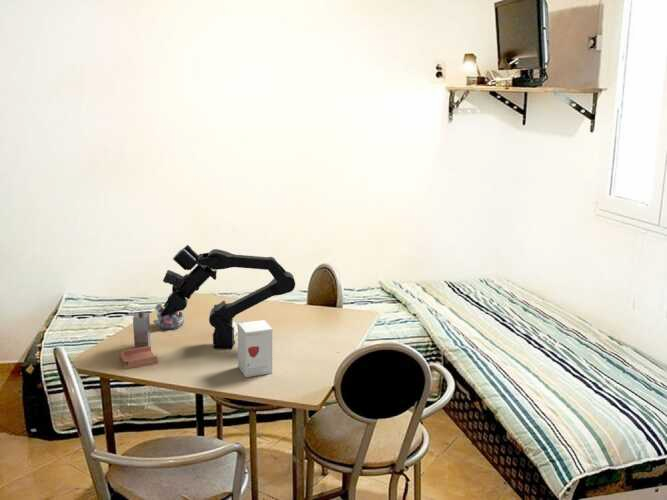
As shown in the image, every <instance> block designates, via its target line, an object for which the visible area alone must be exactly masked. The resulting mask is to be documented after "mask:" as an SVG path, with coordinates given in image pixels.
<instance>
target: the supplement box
mask: <svg viewBox="0 0 667 500" xmlns="http://www.w3.org/2000/svg"><path fill="white" fill-rule="evenodd" d="M237 367H238V368H239V369H240V371H241V373H242V374H243V376H244V377H245V378H249V377H256V376H264V375H268V374H269V375H270V374H273V328H272V327H271V326H270V325H269V324H268V323H267V321H266V320H265V319H263V320H262V319H261V320H254V321H247V322H239V323H237Z"/></svg>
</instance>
